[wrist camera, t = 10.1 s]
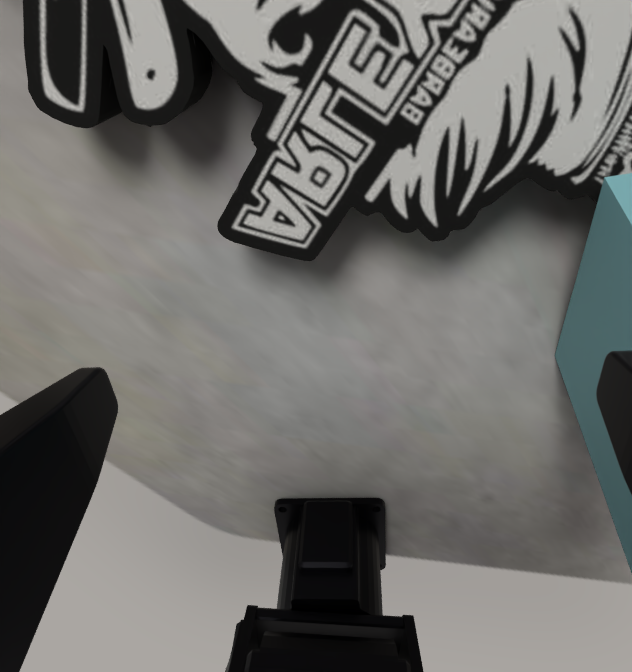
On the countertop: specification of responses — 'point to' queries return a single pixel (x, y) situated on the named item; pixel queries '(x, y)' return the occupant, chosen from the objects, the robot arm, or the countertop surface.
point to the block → (602, 336)
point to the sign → (359, 99)
